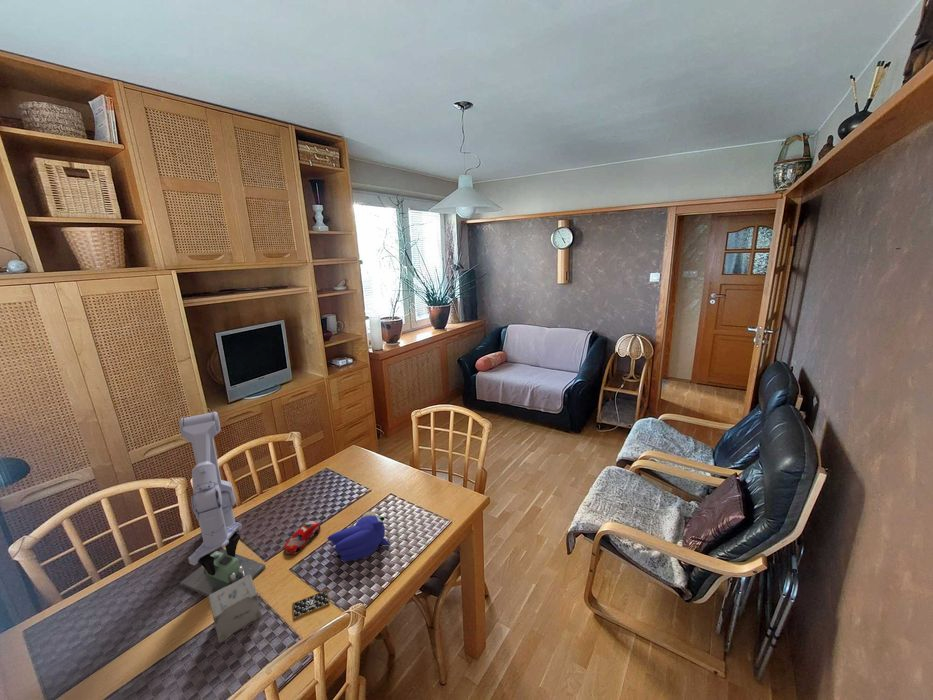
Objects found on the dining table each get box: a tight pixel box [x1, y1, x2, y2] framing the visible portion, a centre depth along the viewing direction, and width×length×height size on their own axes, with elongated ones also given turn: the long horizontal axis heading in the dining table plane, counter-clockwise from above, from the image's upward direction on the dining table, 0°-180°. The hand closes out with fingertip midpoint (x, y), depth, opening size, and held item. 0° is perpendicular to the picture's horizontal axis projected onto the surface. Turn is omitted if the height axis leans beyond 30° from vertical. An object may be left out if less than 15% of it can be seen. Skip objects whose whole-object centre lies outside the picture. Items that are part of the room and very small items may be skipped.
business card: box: [291, 589, 331, 621], centre depth 100 cm, size 9×1×5 cm
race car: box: [283, 520, 321, 555], centre depth 122 cm, size 13×5×4 cm, turn 157°
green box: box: [205, 550, 240, 583], centre depth 108 cm, size 9×4×6 cm, turn 70°
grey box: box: [208, 575, 263, 644], centre depth 94 cm, size 10×8×10 cm
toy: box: [327, 511, 391, 562], centre depth 119 cm, size 10×17×15 cm
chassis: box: [180, 549, 266, 598], centre depth 109 cm, size 18×13×4 cm
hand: (222, 565), depth 108 cm, fingers open, 6 cm apart
